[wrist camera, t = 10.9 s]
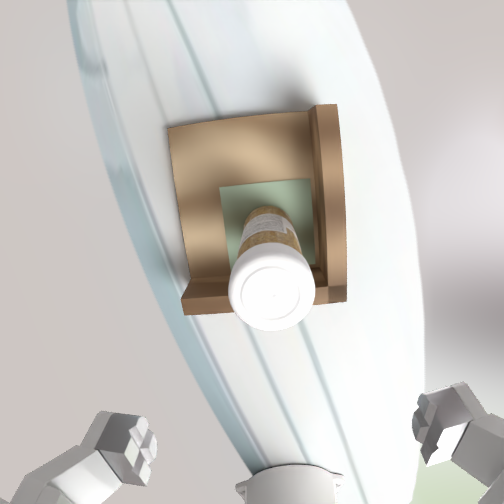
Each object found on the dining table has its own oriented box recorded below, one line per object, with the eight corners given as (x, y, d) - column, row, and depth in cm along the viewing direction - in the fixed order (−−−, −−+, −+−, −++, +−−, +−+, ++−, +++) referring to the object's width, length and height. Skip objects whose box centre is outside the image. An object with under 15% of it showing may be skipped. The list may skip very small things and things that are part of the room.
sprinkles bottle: (293, 252, 29) (314, 332, 17) (244, 253, 30) (230, 334, 17) (293, 203, 28) (318, 252, 15) (241, 204, 28) (223, 255, 15)
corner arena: (334, 277, 31) (346, 301, 26) (195, 289, 32) (184, 315, 27) (324, 111, 26) (337, 104, 21) (169, 128, 27) (151, 125, 22)
